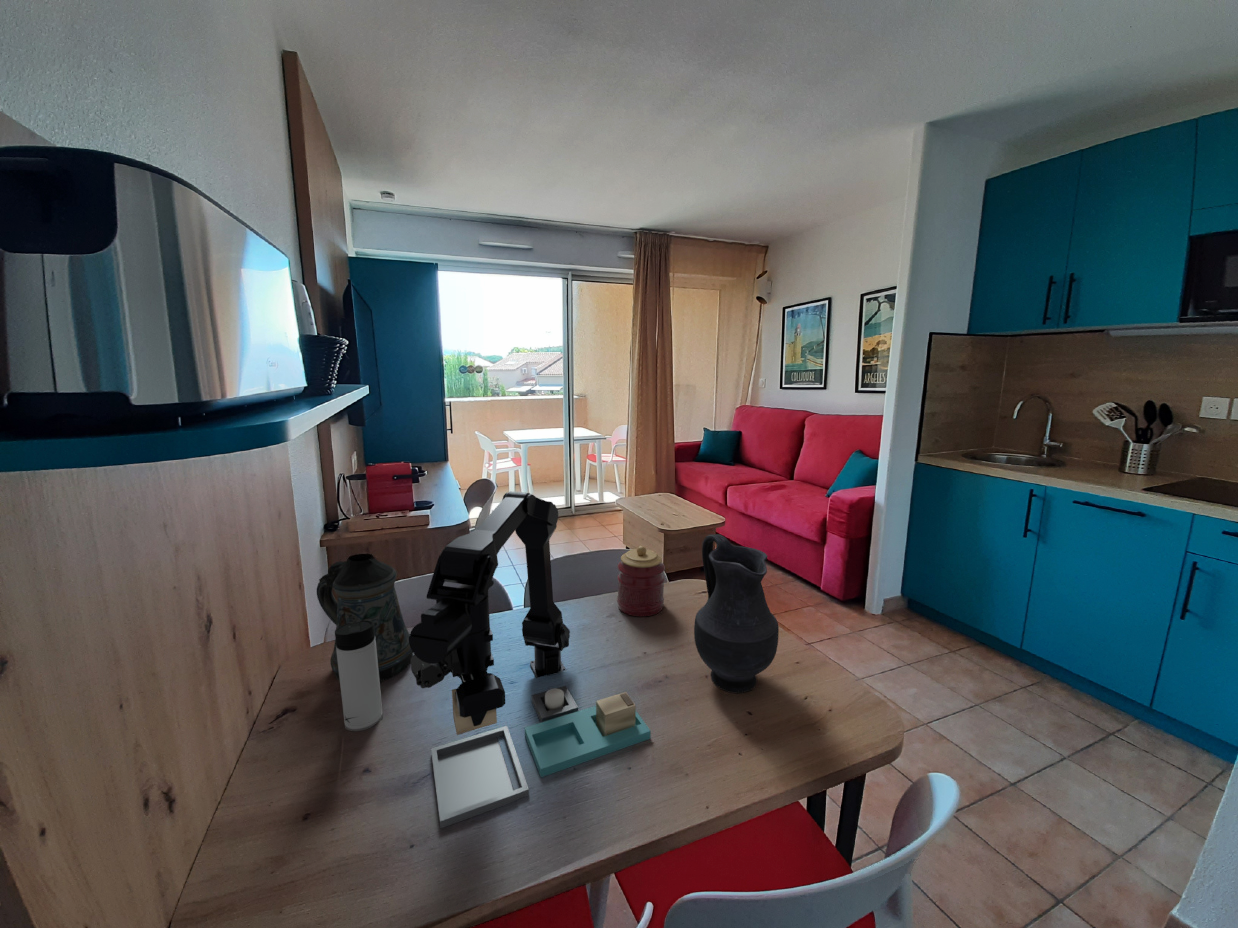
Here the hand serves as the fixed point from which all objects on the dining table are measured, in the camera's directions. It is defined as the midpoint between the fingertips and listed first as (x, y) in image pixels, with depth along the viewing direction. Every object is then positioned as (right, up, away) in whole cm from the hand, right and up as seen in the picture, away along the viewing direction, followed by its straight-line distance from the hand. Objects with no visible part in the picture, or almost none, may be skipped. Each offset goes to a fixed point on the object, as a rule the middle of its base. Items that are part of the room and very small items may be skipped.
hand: (474, 715), depth 77 cm
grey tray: (0, -11, +2) cm, 12 cm away
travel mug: (-25, -9, +14) cm, 30 cm away
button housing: (+10, -8, +17) cm, 22 cm away
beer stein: (-33, -5, +32) cm, 46 cm away
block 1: (0, -1, 0) cm, 1 cm away
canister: (+29, 0, +60) cm, 66 cm away
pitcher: (+46, -7, +30) cm, 56 cm away
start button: (+10, -7, +17) cm, 21 cm away
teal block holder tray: (+17, -10, +10) cm, 22 cm away
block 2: (+22, -9, +12) cm, 27 cm away
